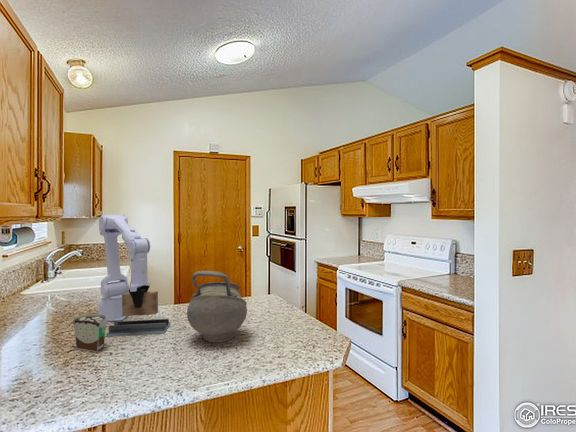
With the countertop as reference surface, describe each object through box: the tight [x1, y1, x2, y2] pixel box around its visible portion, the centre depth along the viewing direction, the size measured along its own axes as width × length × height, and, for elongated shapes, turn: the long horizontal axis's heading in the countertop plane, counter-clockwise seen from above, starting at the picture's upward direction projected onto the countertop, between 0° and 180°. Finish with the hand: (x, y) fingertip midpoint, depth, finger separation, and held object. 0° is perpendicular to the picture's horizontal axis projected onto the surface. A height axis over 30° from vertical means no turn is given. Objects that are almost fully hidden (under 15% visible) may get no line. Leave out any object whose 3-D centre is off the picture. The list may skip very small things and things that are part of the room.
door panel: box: [122, 290, 159, 317], centre depth 124 cm, size 12×3×8 cm, turn 98°
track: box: [105, 318, 171, 338], centre depth 124 cm, size 20×10×3 cm, turn 98°
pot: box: [186, 270, 248, 343], centre depth 115 cm, size 21×21×25 cm
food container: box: [72, 313, 109, 353], centre depth 109 cm, size 12×6×10 cm, turn 71°
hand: (139, 306), depth 124 cm, fingers closed on door panel, 3 cm apart
